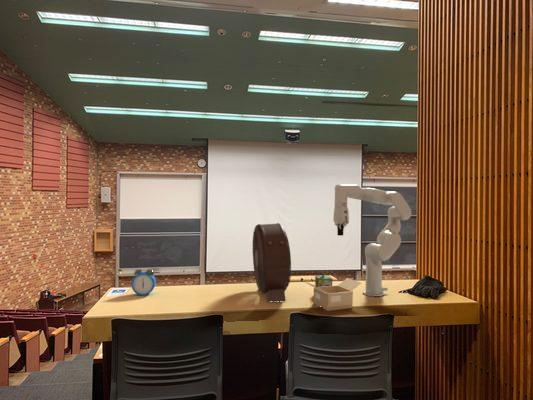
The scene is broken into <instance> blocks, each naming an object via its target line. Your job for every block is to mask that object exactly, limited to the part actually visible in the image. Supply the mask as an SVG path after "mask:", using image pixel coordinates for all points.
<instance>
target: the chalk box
mask: <svg viewBox="0 0 533 400" xmlns="http://www.w3.org/2000/svg"><path fill="white" fill-rule="evenodd" d="M320 272H321V275H315V277H314V278H315V279H314V282H315V285H314V286H316V287H325V286H333V277H331V276H330V275H325V274H324V272H323V271H322V270H321V271H320Z"/></svg>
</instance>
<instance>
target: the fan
mask: <svg viewBox="0 0 533 400" xmlns="http://www.w3.org/2000/svg"><path fill="white" fill-rule="evenodd" d="M291 258H292V257H291V248H290V242H289V238H288V235H287V232H286V230H285V228H284V226H283V225H282V224H281V223H280V222H279V223H278V222H277V223H269V224H267V223H266V224H265V223H264V224H263V223H262V224H261V223H258V224H256V225H255V227H254V229H253V234H252V262H253V273H254V278H255V284H256V287H257V289H258V291H259V292H260V294H264V295H265V294H266V297H267V301H269V302H270V301H273V302H272V303H275V302H274V301H279V302H278V303H281V302H280V301H286V291H287V289H288V287H289V286H290V283H291V278H292V276H291V274H292V273H291V272H292V259H291ZM269 302H268V303H269Z"/></svg>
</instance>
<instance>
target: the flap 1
mask: <svg viewBox="0 0 533 400" xmlns="http://www.w3.org/2000/svg"><path fill="white" fill-rule="evenodd" d="M305 284H308V285H309V286H311V287H313V288H314V287H315V288H317V289H319V290H321V291H323V290H322V289H320V288H318V287H316V286H315V285H314V284H311V283H309V282H307V281H305ZM323 292H325V291H323ZM326 293H327V292H326Z"/></svg>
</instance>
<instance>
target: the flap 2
mask: <svg viewBox="0 0 533 400" xmlns="http://www.w3.org/2000/svg"><path fill="white" fill-rule="evenodd" d="M361 284H362V282H360V281H358V280H355V279H351V278H349V277H347V278H345V279H343V281H341V282H340V283H339V284H338V286H341V287H343V288H346V289H348V290H351V291H353V290H354V289H356V288H357V287H358V286H360V285H361Z"/></svg>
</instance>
